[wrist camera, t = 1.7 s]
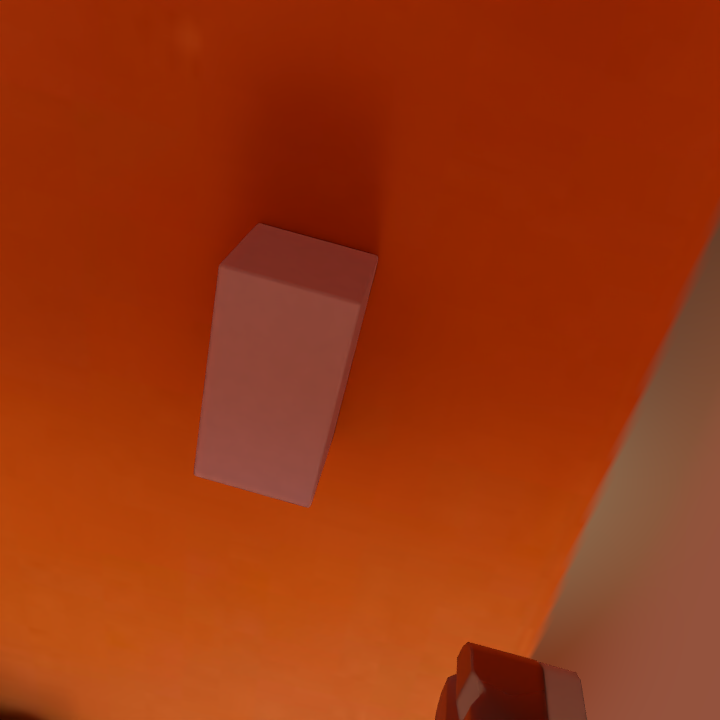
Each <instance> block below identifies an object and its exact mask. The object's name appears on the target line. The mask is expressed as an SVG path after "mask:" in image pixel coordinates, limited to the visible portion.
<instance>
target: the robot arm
mask: <svg viewBox="0 0 720 720" xmlns="http://www.w3.org/2000/svg"><path fill="white" fill-rule="evenodd" d="M435 720H587V717H586V710H585V704H584V698H583V692H582V686H581V680H580V679H579V677H578V675H577V673H576V672H572V671H569V670H565V669H562V668H558V667H555V666H551V665H548V664H544V663H541V662H537V661H536V660H533V659H529V658H526V657H522V656H518V655H515V654H511V653H507V652H503V651H500V650H496V649H492V648H489V647H485V646H481V645H478V644H474V643H470V642H467V643H466V644H465V645H464V646H463V647H462V649H461V651H460V653H459V655H458V657H457V674H455V675H453V676H450V677H448V678H447V681H446V683H445V685H444V688H443V690H442V692H441V695H440V699H439V703H438V707H437V711H436V716H435Z"/></svg>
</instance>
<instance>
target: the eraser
mask: <svg viewBox="0 0 720 720" xmlns="http://www.w3.org/2000/svg"><path fill="white" fill-rule="evenodd" d="M377 263H378V256H377V255H374V254H370V253H367V252H363V251H359V250H356V249H352V248H348V247H345V246H341V245H337V244H334V243H330V242H327V241H323V240H319V239H316V238H312V237H308V236H305V235H301V234H297V233H294V232H290V231H286V230H283V229H279V228H275V227H272V226H268V225H265V224H261V223H258V224H257V225H256V226H255V227H254V228H253V229H252V230H251V231H250V232H249V233H248V234H247V235H246V237H245V238H244V239H243V240H242V241H241V242H240V243H239V244H238V245H237V246H236V247H235V248H234V249H233V251H232V252H231V253H230V254H229V255H228V256H227V257H226V258H225V259H224V260H223V261H222V262H221V263H220V265H219V269H218V277H217V285H216V293H215V302H214V310H213V318H212V326H211V335H210V343H209V351H208V359H207V368H206V376H205V384H204V392H203V400H202V409H201V417H200V425H199V433H198V442H197V450H196V458H195V466H194V475H195V476H198V477H202V478H205V479H209V480H212V481H216V482H219V483H223V484H226V485H230V486H233V487H237V488H240V489H244V490H247V491H251V492H254V493H258V494H261V495H265V496H269V497H272V498H276V499H279V500H283V501H286V502H290V503H293V504H297V505H300V506H304V507H310V506H311V504H312V501H313V498H314V494H315V491H316V488H317V485H318V482H319V479H320V476H321V473H322V470H323V467H324V464H325V461H326V458H327V455H328V451H329V448H330V445H331V442H332V438H333V435H334V431H335V427H336V423H337V419H338V415H339V411H340V407H341V403H342V399H343V396H344V392H345V388H346V384H347V380H348V376H349V372H350V368H351V364H352V360H353V357H354V353H355V349H356V345H357V341H358V337H359V333H360V329H361V325H362V321H363V318H364V314H365V310H366V306H367V302H368V298H369V294H370V290H371V286H372V282H373V279H374V275H375V271H376V267H377Z"/></svg>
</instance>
